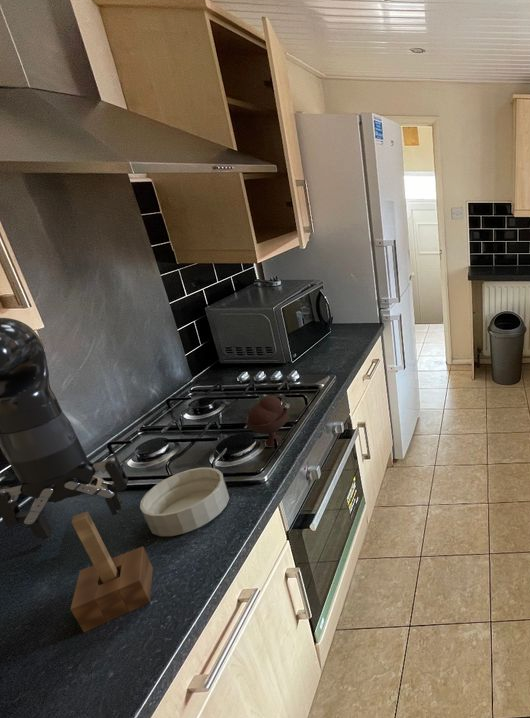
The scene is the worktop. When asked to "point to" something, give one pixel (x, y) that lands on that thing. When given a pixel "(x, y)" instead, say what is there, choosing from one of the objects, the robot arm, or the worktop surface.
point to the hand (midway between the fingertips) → (82, 523)
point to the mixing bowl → (184, 501)
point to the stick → (95, 547)
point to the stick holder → (113, 590)
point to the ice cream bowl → (267, 418)
